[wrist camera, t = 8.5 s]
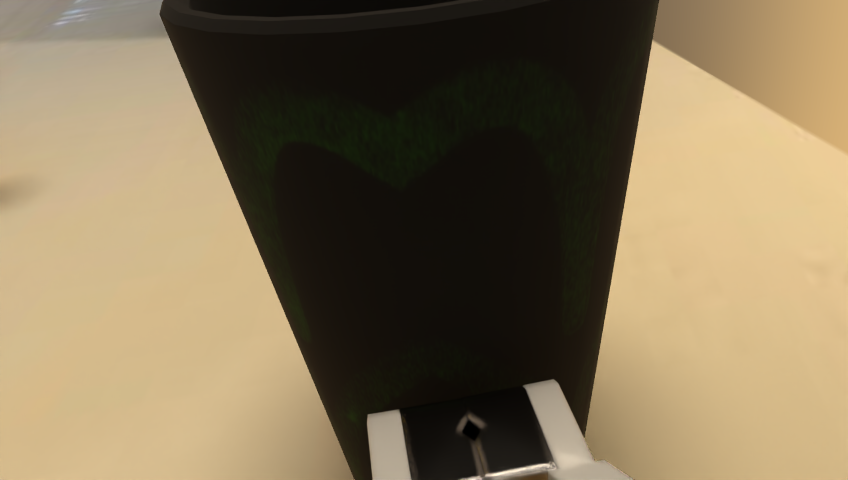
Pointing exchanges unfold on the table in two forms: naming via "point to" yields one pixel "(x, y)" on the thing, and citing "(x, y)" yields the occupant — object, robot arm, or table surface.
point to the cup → (427, 183)
